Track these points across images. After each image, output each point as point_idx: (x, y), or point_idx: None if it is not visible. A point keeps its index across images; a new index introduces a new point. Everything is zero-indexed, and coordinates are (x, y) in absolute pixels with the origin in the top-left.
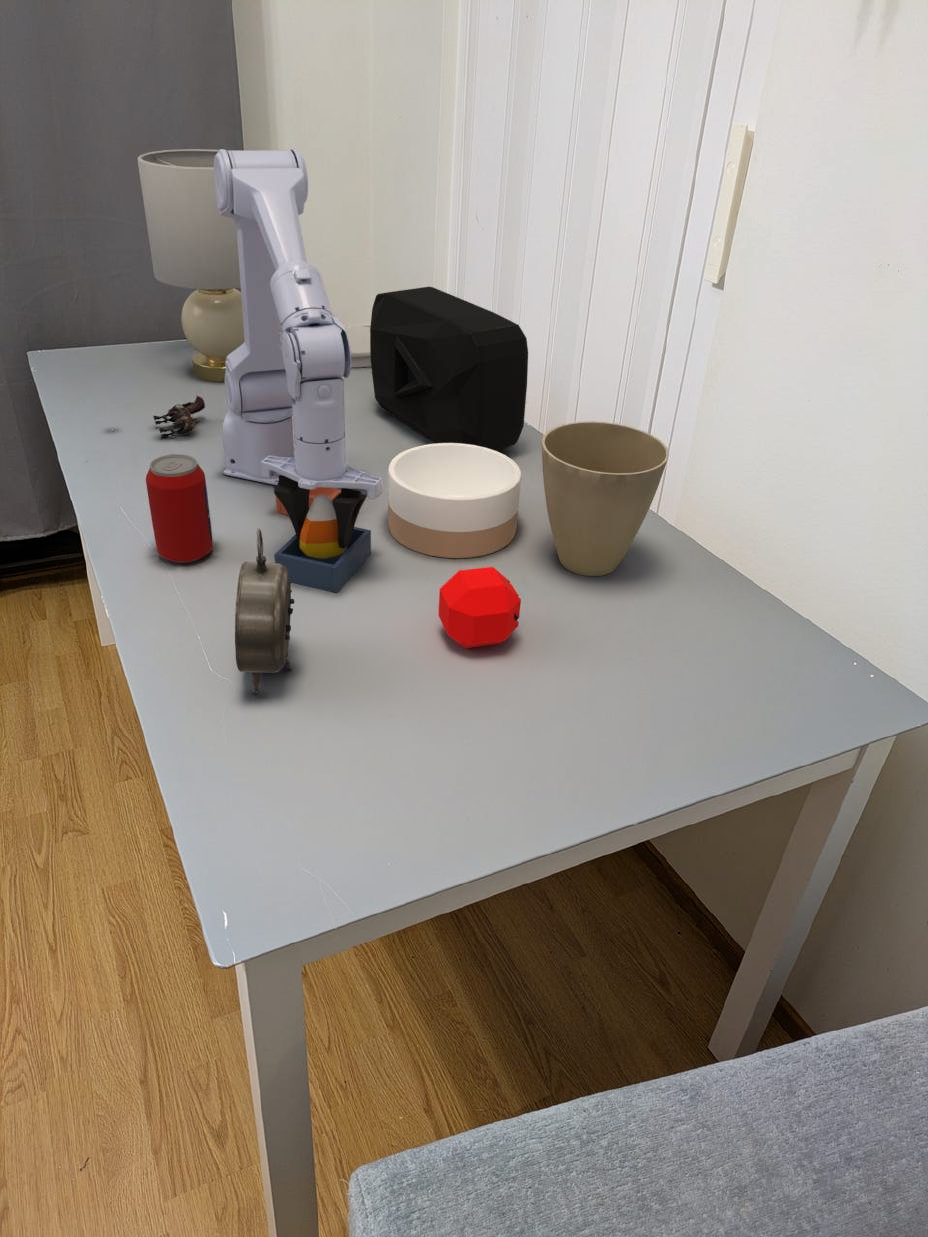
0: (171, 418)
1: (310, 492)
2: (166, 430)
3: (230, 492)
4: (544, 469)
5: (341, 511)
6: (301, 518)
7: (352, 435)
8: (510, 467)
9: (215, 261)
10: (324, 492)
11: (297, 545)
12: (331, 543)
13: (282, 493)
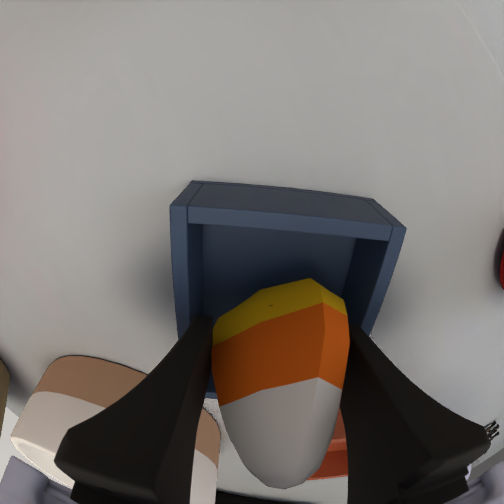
0: None
1: None
2: (494, 428)
3: (456, 398)
4: None
5: (132, 429)
6: (358, 383)
7: (327, 489)
8: (68, 480)
9: None
10: (337, 443)
11: (352, 313)
12: (243, 328)
13: (465, 447)
